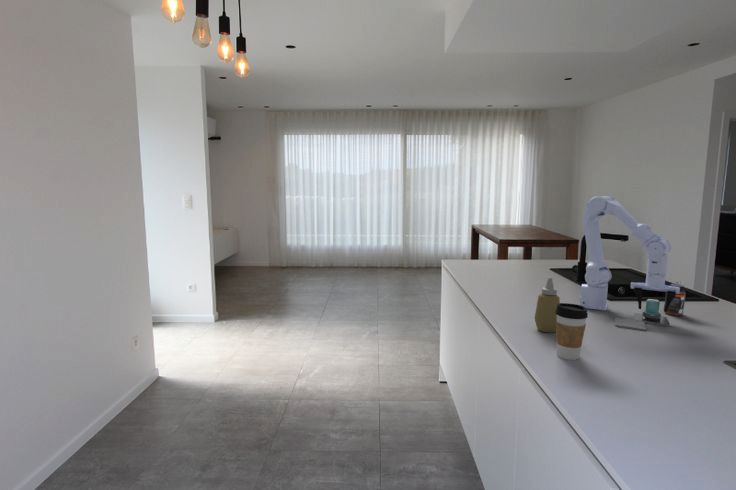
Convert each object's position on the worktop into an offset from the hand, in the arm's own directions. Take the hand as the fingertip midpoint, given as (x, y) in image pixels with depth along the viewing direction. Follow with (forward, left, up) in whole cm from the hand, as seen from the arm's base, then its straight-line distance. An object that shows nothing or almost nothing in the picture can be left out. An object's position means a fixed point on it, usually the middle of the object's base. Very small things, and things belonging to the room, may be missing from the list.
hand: (652, 309), depth 155 cm
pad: (-7, -10, -4) cm, 13 cm away
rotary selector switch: (0, 0, -4) cm, 4 cm away
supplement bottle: (+8, +13, -4) cm, 16 cm away
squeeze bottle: (-32, -30, -4) cm, 44 cm away
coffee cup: (-24, -50, -4) cm, 56 cm away
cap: (0, 0, -1) cm, 1 cm away
